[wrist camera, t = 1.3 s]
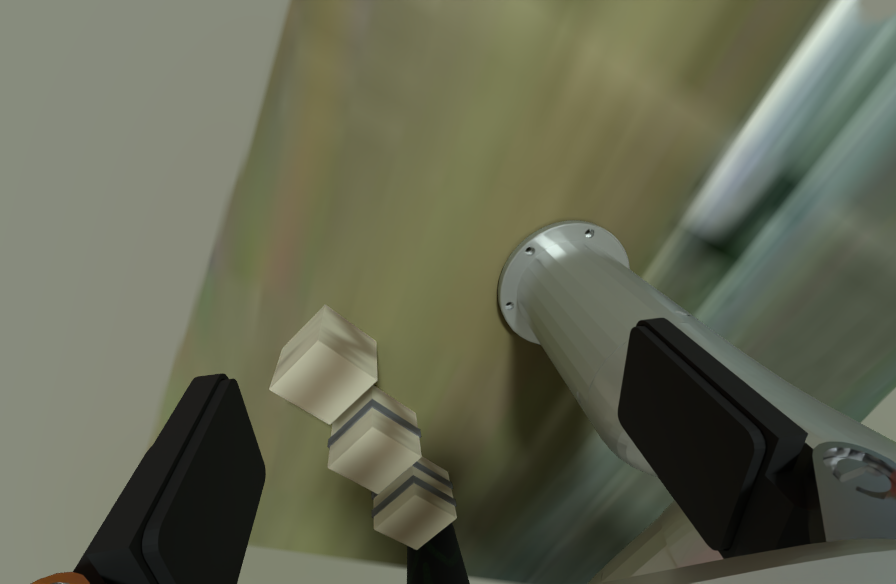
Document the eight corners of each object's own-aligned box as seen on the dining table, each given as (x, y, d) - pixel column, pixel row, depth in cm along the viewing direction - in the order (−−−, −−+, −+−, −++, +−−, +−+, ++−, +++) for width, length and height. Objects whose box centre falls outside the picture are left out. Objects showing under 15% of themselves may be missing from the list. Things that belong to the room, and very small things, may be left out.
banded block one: (417, 412, 45) (424, 456, 40) (377, 448, 47) (378, 496, 41) (372, 382, 43) (372, 425, 37) (330, 421, 44) (325, 468, 39)
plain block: (376, 341, 41) (377, 380, 36) (334, 381, 42) (329, 424, 37) (325, 303, 38) (317, 340, 33) (282, 347, 40) (269, 389, 34)
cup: (470, 511, 53) (495, 618, 43) (445, 550, 56) (462, 661, 45) (413, 501, 51) (424, 612, 40) (389, 543, 54) (394, 657, 43)
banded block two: (449, 471, 50) (459, 517, 45) (412, 502, 51) (416, 551, 46) (410, 446, 47) (415, 493, 42) (371, 480, 49) (371, 529, 43)
